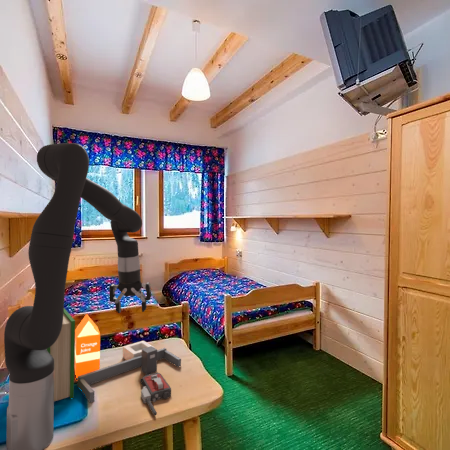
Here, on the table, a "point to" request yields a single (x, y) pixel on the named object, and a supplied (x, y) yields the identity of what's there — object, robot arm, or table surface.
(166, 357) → the cradle
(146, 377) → the walkie-talkie
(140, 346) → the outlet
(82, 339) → the orange juice
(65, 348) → the hardback book
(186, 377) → the table surface
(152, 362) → the plug
